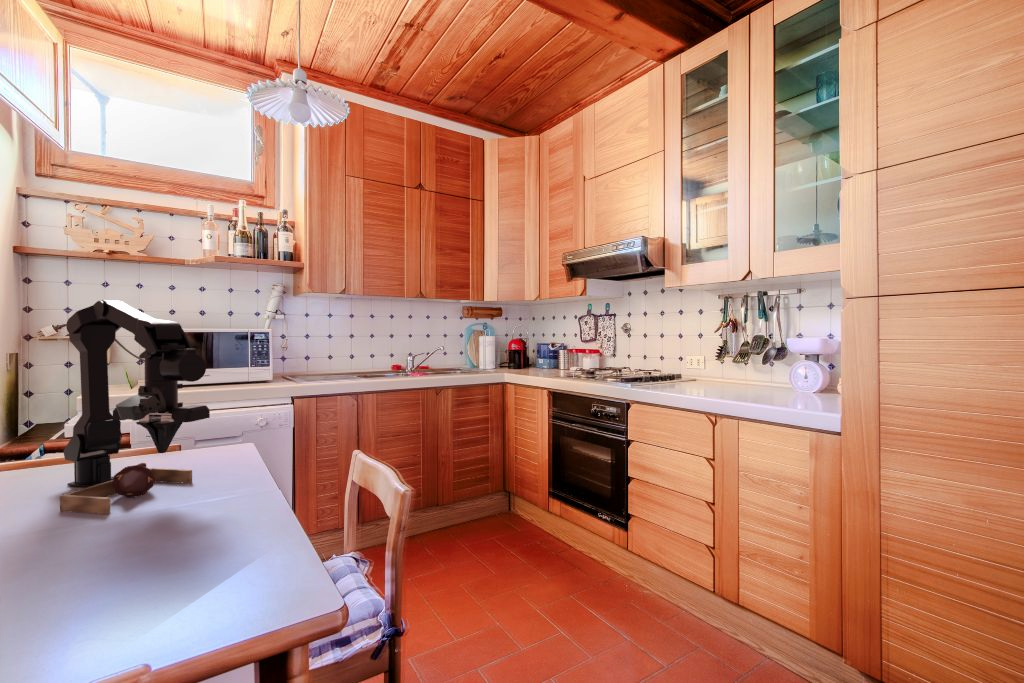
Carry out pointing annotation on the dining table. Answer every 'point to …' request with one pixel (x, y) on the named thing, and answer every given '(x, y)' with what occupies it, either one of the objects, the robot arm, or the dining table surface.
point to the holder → (113, 492)
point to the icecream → (133, 480)
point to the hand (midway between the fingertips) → (162, 452)
